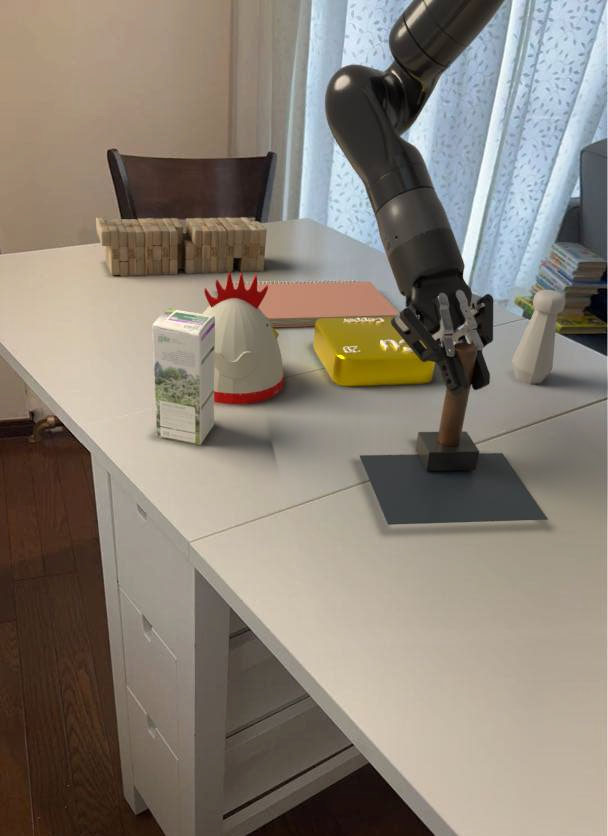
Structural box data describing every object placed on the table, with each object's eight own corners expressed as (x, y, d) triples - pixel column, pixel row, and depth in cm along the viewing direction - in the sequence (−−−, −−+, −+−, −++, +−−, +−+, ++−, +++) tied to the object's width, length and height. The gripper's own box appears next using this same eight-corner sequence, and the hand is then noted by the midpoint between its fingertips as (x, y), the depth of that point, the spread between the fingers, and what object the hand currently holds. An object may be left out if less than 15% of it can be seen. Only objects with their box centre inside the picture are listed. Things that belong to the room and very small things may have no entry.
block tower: (252, 262, 154) (97, 262, 144) (255, 217, 149) (95, 213, 139) (263, 276, 148) (103, 277, 138) (267, 229, 143) (101, 226, 134)
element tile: (401, 342, 126) (406, 312, 123) (436, 384, 114) (442, 353, 111) (309, 344, 122) (312, 314, 119) (336, 388, 111) (339, 356, 108)
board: (500, 461, 98) (502, 452, 97) (545, 528, 87) (548, 519, 86) (358, 463, 95) (359, 455, 94) (386, 533, 84) (387, 524, 83)
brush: (463, 449, 97) (484, 338, 89) (475, 470, 93) (499, 356, 85) (415, 450, 96) (432, 338, 88) (426, 471, 92) (445, 356, 84)
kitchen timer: (284, 407, 105) (292, 295, 96) (179, 403, 104) (177, 289, 95) (280, 362, 116) (286, 258, 107) (184, 358, 115) (183, 252, 106)
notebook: (366, 288, 144) (368, 277, 143) (399, 324, 132) (401, 313, 130) (218, 291, 138) (218, 280, 136) (237, 329, 125) (237, 317, 124)
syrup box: (215, 425, 100) (217, 313, 91) (200, 448, 95) (200, 332, 86) (172, 417, 101) (169, 305, 92) (154, 439, 96) (150, 323, 87)
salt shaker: (500, 376, 118) (522, 289, 111) (523, 367, 122) (545, 282, 114) (533, 391, 115) (558, 303, 107) (555, 381, 118) (580, 295, 111)
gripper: (387, 231, 81) (444, 389, 81) (486, 219, 88) (539, 366, 88) (351, 266, 88) (403, 413, 88) (445, 253, 95) (495, 390, 94)
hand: (471, 389), depth 88 cm, fingers closed on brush, 2 cm apart
